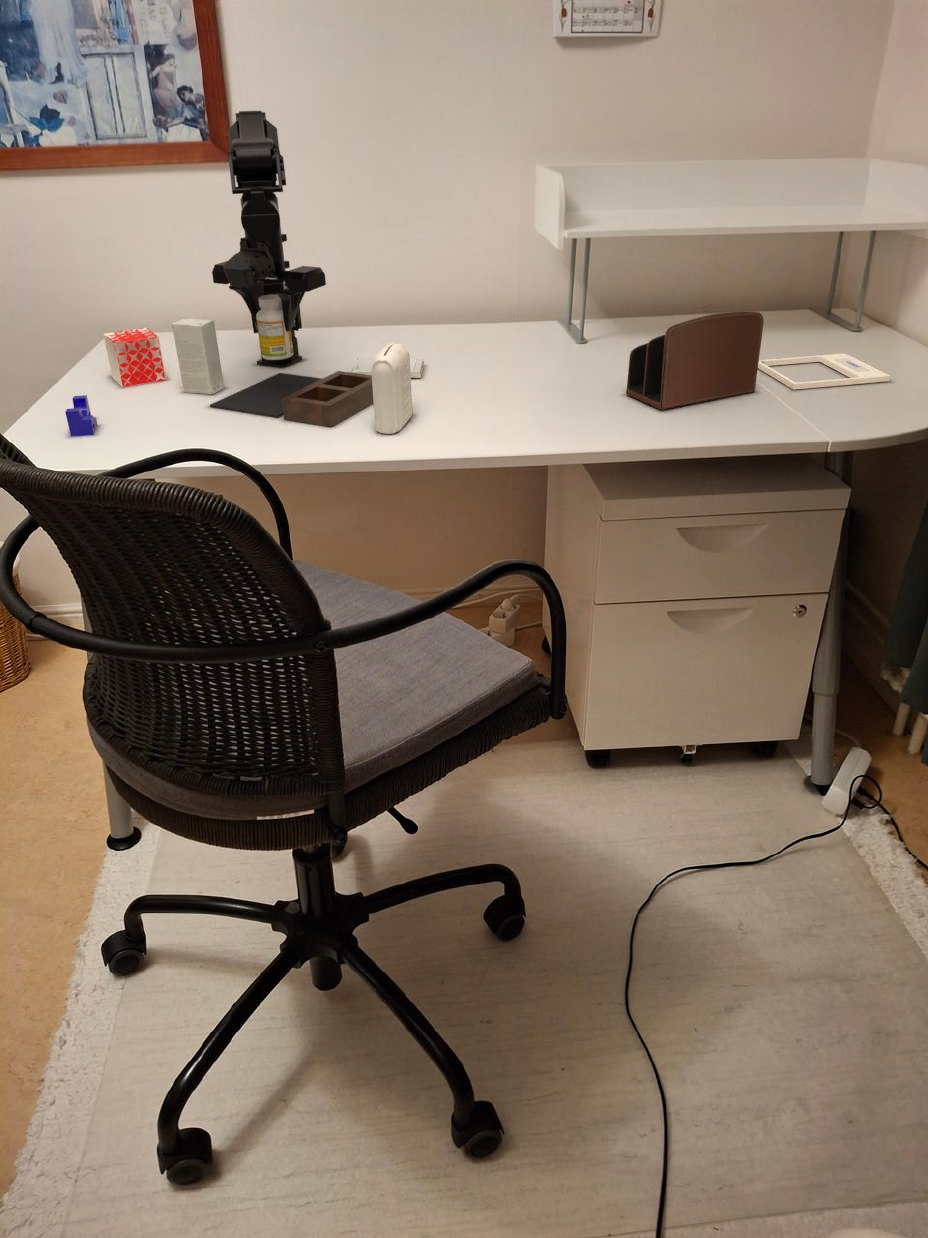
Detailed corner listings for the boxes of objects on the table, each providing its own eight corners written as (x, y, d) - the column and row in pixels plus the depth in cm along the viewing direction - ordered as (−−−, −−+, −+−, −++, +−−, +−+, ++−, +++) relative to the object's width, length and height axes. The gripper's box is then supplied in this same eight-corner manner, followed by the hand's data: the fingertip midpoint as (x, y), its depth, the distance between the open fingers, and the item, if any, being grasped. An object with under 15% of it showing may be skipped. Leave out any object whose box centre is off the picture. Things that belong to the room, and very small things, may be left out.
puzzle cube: (166, 380, 176) (158, 336, 172) (122, 387, 173) (113, 343, 169) (154, 369, 182) (146, 327, 178) (112, 376, 179) (103, 333, 175)
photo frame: (890, 374, 166) (794, 382, 163) (889, 381, 167) (793, 389, 164) (845, 352, 179) (755, 359, 176) (844, 358, 179) (754, 365, 176)
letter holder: (755, 392, 163) (767, 307, 156) (661, 411, 156) (669, 323, 149) (717, 377, 171) (726, 295, 164) (625, 395, 163) (631, 310, 156)
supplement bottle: (277, 349, 166) (270, 291, 161) (300, 354, 163) (294, 295, 158) (254, 357, 162) (246, 298, 157) (278, 362, 159) (270, 302, 154)
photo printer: (390, 412, 158) (385, 336, 152) (415, 414, 157) (412, 337, 151) (372, 434, 149) (366, 354, 143) (398, 435, 149) (394, 355, 142)
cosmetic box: (225, 388, 171) (215, 319, 165) (212, 395, 168) (201, 325, 162) (196, 385, 173) (184, 317, 167) (182, 392, 170) (170, 323, 163)
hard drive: (351, 370, 173) (420, 369, 173) (357, 358, 180) (423, 357, 180) (352, 379, 174) (420, 378, 174) (358, 366, 181) (423, 365, 181)
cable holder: (94, 434, 152) (88, 410, 150) (71, 436, 151) (65, 411, 149) (101, 418, 158) (96, 394, 156) (79, 419, 158) (73, 396, 156)
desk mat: (210, 407, 162) (209, 404, 162) (279, 374, 178) (279, 372, 177) (278, 417, 157) (277, 415, 157) (344, 383, 172) (343, 381, 172)
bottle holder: (283, 419, 156) (281, 398, 154) (339, 390, 169) (338, 370, 167) (331, 427, 152) (329, 405, 151) (385, 396, 165) (383, 376, 163)
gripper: (182, 234, 150) (198, 335, 158) (281, 241, 143) (293, 347, 151) (227, 222, 158) (240, 319, 166) (323, 229, 151) (331, 330, 159)
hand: (274, 329), depth 160 cm, fingers closed on supplement bottle, 5 cm apart
